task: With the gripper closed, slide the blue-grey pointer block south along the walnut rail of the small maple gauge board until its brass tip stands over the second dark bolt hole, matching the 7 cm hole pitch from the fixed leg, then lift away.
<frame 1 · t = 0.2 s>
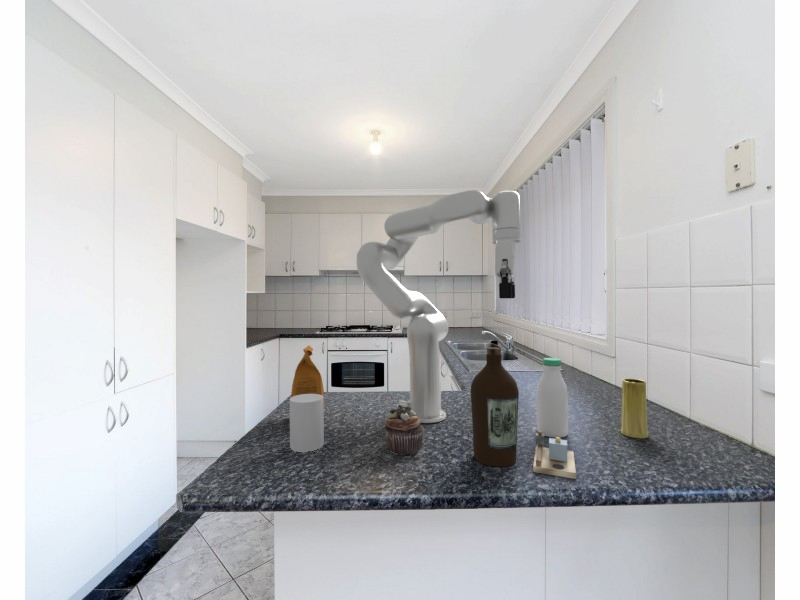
hand: (507, 298, 101), 36 cm above the counter, tool pointing down, fingers open, 9 cm apart
coffee package: (308, 420, 109), on the counter
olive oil: (494, 458, 82), on the counter
milk bottle: (552, 433, 97), on the counter
vase: (634, 435, 96), on the counter
gauge board: (554, 463, 79), on the counter
cup: (307, 446, 90), on the counter
pointer leg: (558, 447, 79), point 4 cm above the counter, slide at 0.0 cm
cupcake: (404, 449, 88), on the counter
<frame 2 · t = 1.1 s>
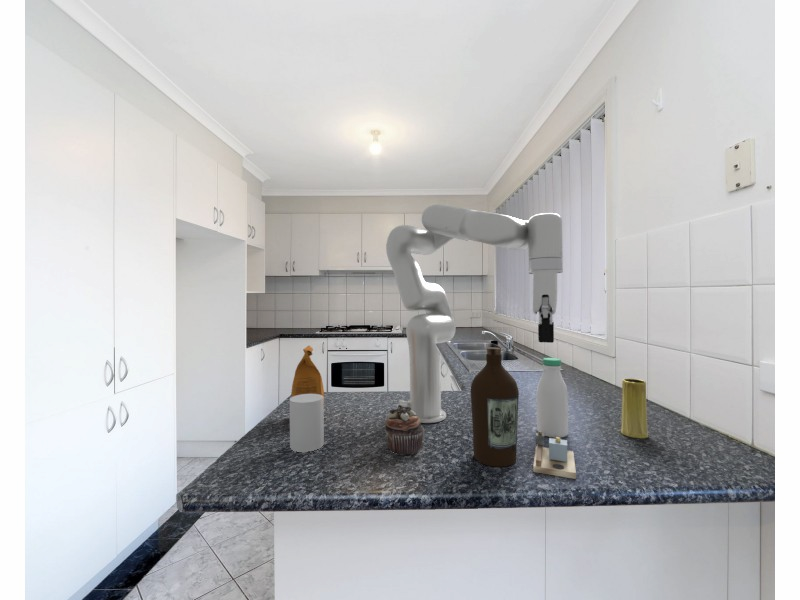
hand: (546, 339, 86), 26 cm above the counter, tool pointing down, fingers open, 8 cm apart
nothing on the counter moved.
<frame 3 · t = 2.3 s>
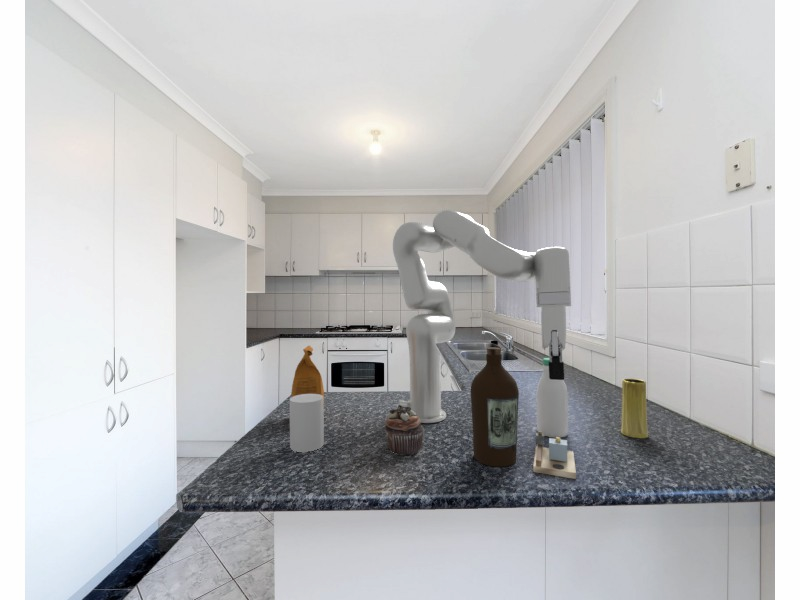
hand: (556, 378, 84), 17 cm above the counter, tool pointing down, fingers closed
nothing on the counter moved.
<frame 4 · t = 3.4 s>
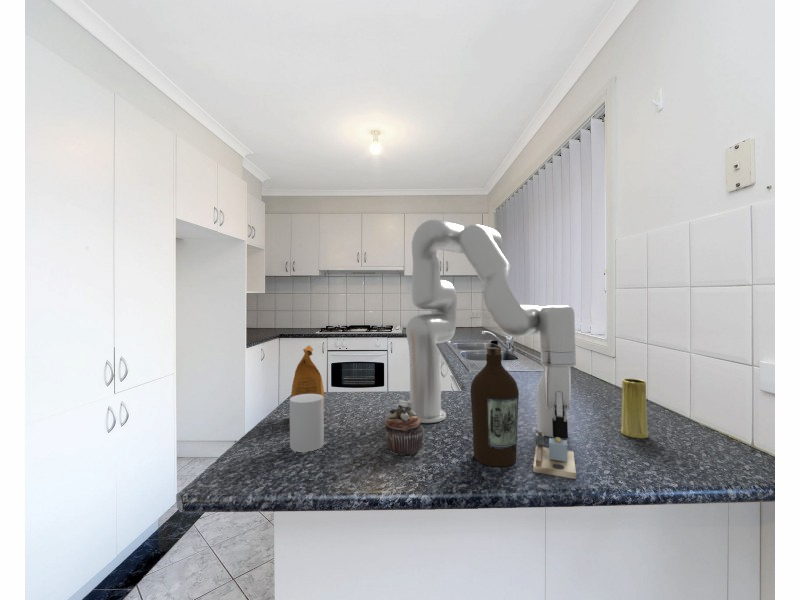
hand: (560, 436, 84), 4 cm above the counter, tool pointing down, fingers closed
nothing on the counter moved.
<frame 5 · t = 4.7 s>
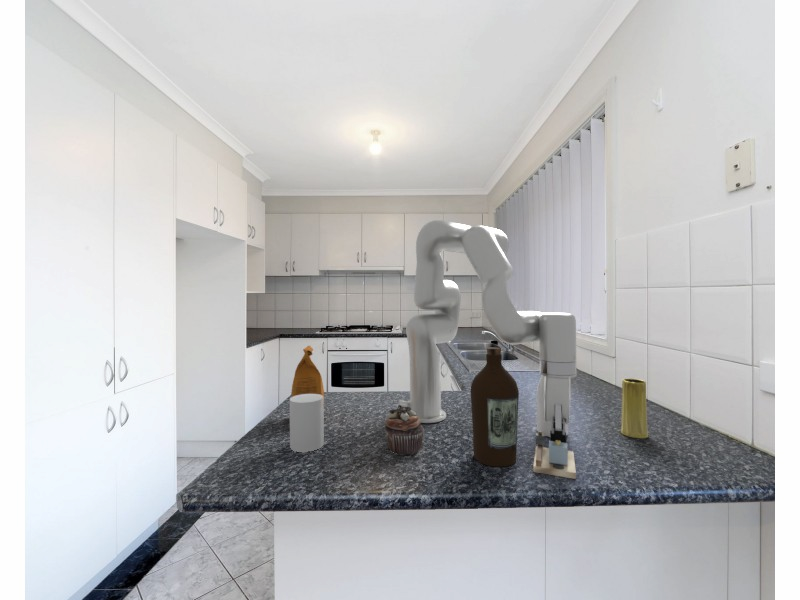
hand: (558, 450, 80), 2 cm above the counter, tool pointing down, fingers closed
pointer leg: (558, 450, 77), point 4 cm above the counter, slide at 1.7 cm, touching gripper
everything else where it was.
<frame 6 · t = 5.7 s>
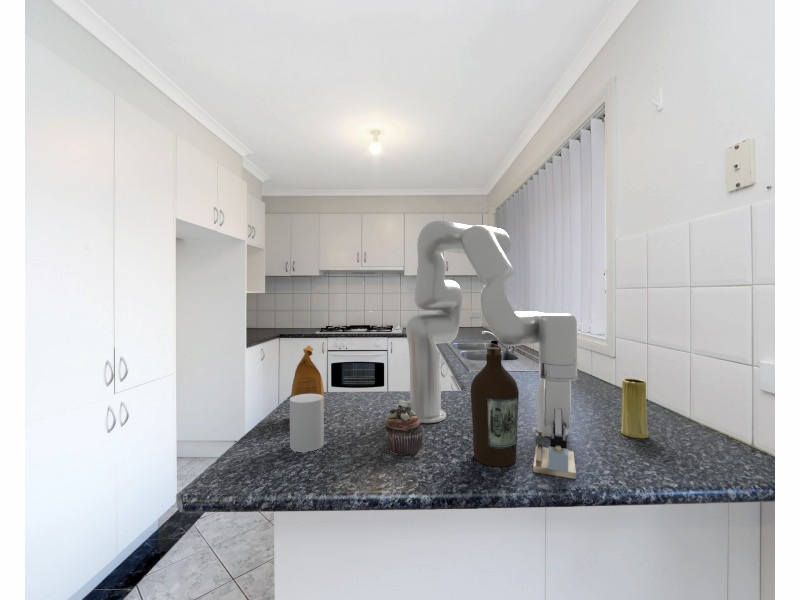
hand: (558, 456, 77), 2 cm above the counter, tool pointing down, fingers closed
pointer leg: (558, 457, 74), point 4 cm above the counter, slide at 4.9 cm, touching gripper
everything else where it was.
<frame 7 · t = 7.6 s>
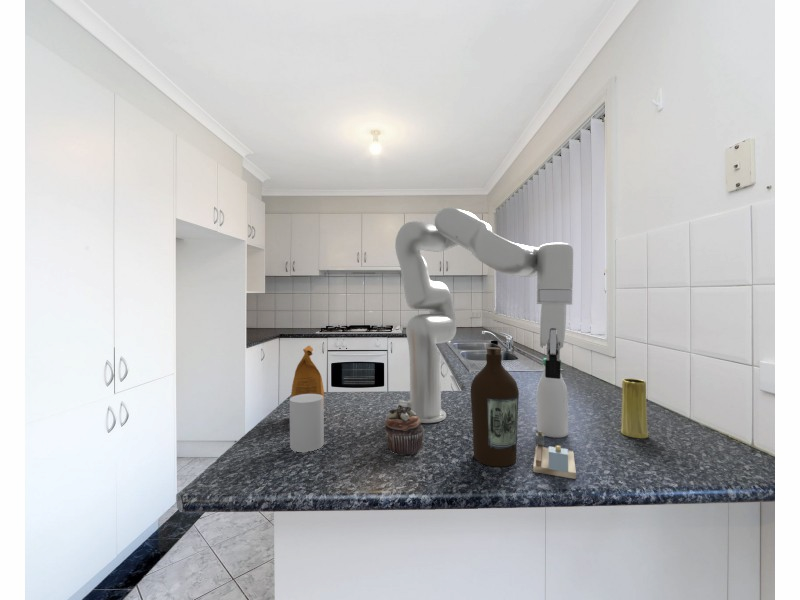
hand: (552, 377, 83), 18 cm above the counter, tool pointing down, fingers closed
pointer leg: (558, 457, 74), point 4 cm above the counter, slide at 4.9 cm
everything else where it was.
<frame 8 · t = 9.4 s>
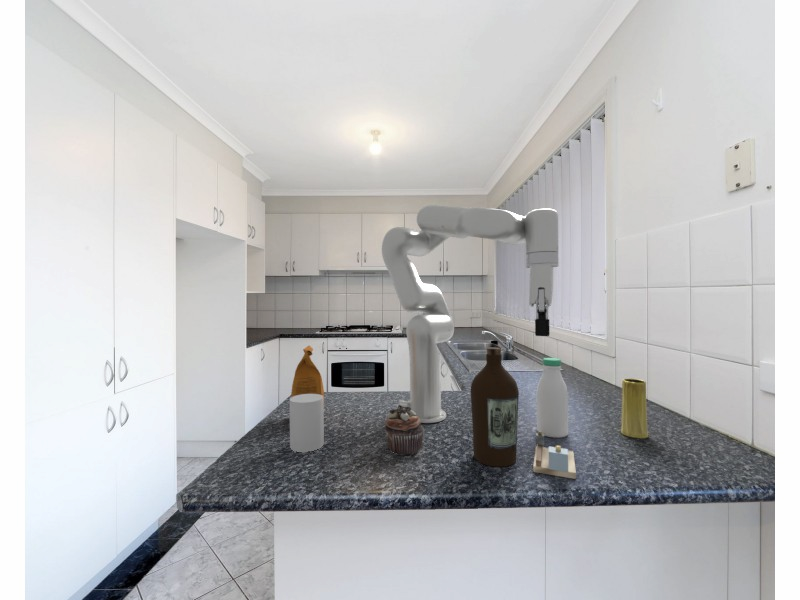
hand: (542, 335, 89), 27 cm above the counter, tool pointing down, fingers closed
nothing on the counter moved.
at the end: pointer leg slide at 4.9 cm; pointer leg touching nothing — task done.
